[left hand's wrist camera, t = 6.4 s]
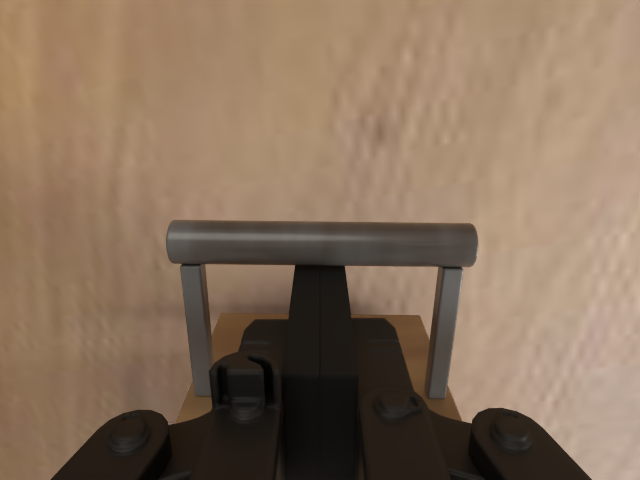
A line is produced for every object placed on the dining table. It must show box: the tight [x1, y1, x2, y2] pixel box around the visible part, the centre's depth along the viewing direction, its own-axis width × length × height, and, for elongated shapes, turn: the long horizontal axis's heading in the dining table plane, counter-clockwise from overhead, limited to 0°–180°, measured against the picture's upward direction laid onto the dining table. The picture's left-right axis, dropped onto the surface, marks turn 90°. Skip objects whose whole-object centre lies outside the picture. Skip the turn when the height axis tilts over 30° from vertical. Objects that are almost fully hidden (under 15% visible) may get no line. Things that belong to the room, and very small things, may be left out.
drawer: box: [166, 220, 478, 424], centre depth 18 cm, size 22×9×7 cm, turn 179°
